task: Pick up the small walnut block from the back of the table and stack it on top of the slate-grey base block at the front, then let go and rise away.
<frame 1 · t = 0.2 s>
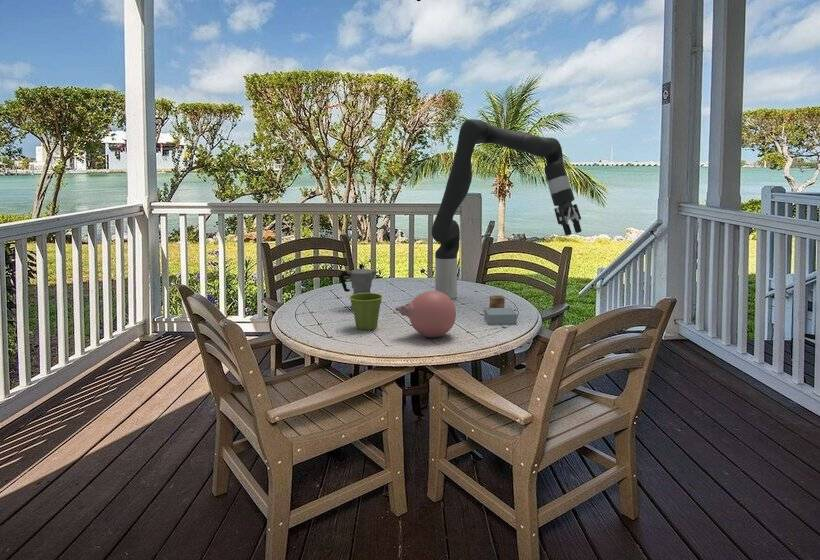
hand: (573, 233, 213), 31 cm above the table, fingers open, 8 cm apart
balloon: (425, 337, 196), on the table
slate base block: (500, 321, 214), on the table
plant pot: (366, 328, 207), on the table
walnut block: (496, 309, 232), on the table
coffeepot: (359, 309, 234), on the table
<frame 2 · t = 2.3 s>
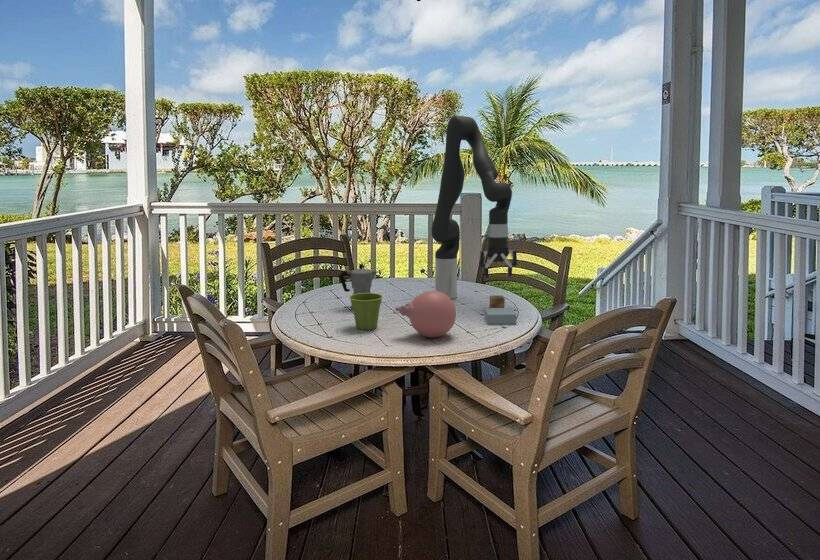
hand: (497, 277, 229), 13 cm above the table, fingers open, 8 cm apart
nothing on the table moved.
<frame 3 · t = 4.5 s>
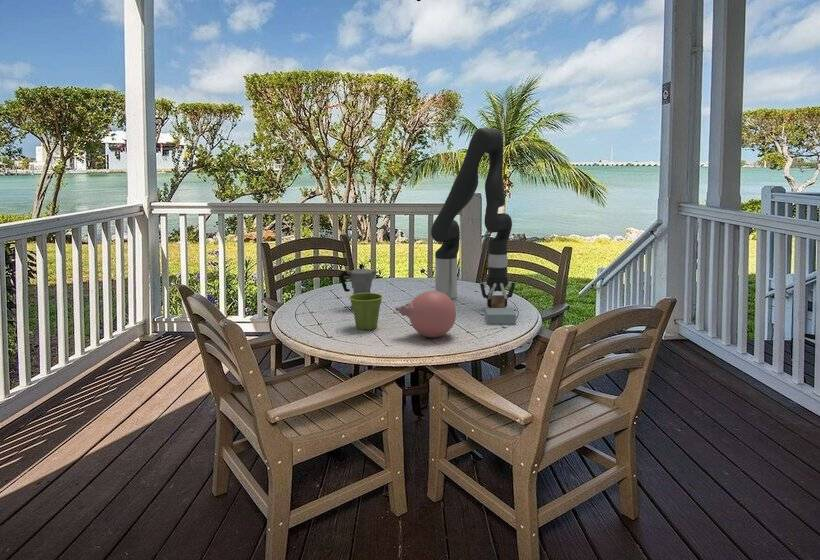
hand: (496, 307, 232), 0 cm above the table, fingers closed on walnut block, 5 cm apart
walnut block: (496, 309, 232), on the table, touching gripper
everything else where it was.
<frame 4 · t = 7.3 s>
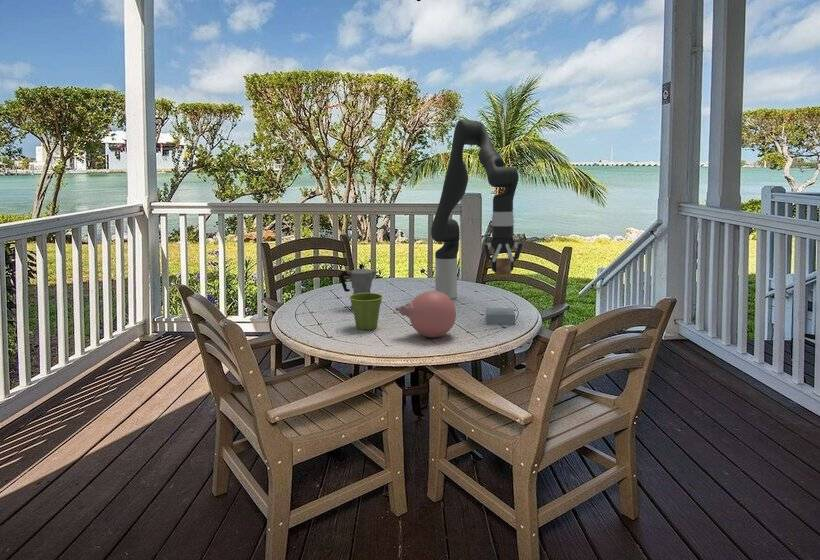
hand: (502, 271, 211), 18 cm above the table, fingers closed on walnut block, 5 cm apart
walnut block: (502, 272, 212), point 18 cm above the table, touching gripper
everything else where it was.
when the fingers open (6 cm above the table, at t = 10.5 s): walnut block drops 2 cm, resting on slate base block.
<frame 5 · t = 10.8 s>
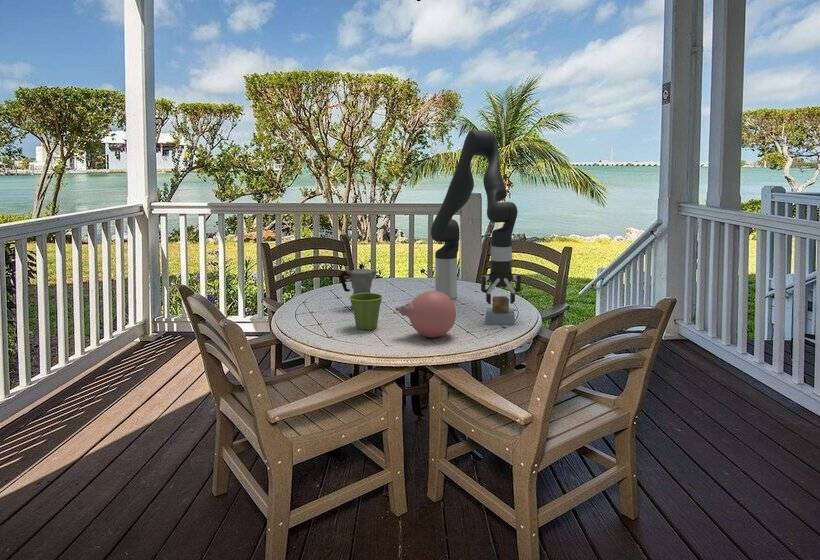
hand: (500, 303, 213), 6 cm above the table, fingers open, 7 cm apart
slate base block: (500, 322, 214), on the table, touching walnut block
walnut block: (500, 311, 213), point 4 cm above the table, touching slate base block
everything else where it was.
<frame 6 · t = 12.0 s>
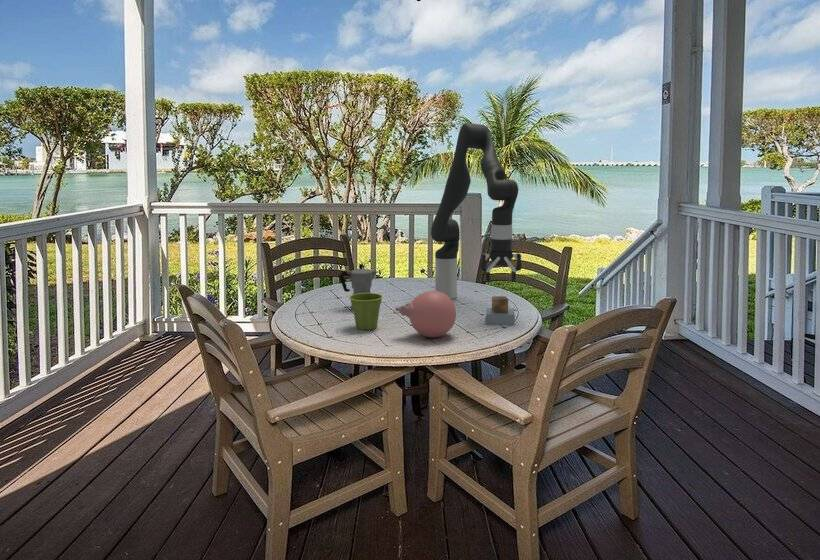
hand: (500, 282, 211), 14 cm above the table, fingers open, 8 cm apart
nothing on the table moved.
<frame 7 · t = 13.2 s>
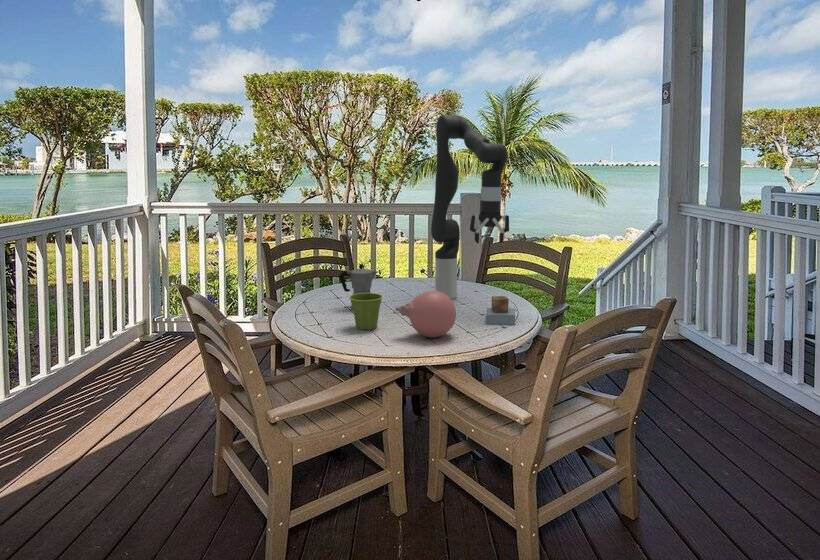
hand: (488, 243, 220), 27 cm above the table, fingers open, 8 cm apart
nothing on the table moved.
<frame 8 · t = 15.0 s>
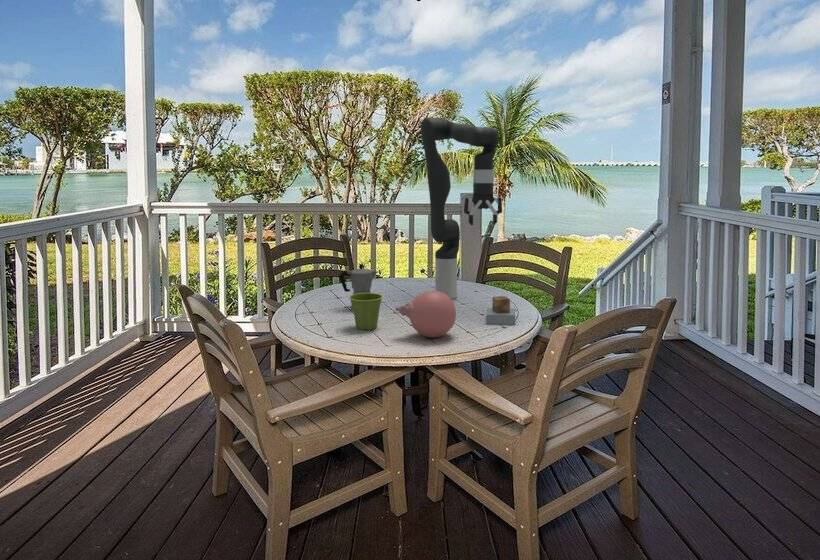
hand: (482, 224, 225), 33 cm above the table, fingers open, 8 cm apart
nothing on the table moved.
at the end: walnut block 0.1 cm off-centre on the slate base block, point 4.0 cm above the slate base block's base; the gripper is holding nothing; walnut block tilted 0° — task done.
